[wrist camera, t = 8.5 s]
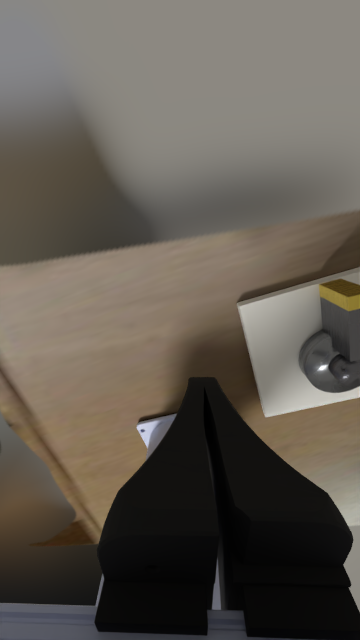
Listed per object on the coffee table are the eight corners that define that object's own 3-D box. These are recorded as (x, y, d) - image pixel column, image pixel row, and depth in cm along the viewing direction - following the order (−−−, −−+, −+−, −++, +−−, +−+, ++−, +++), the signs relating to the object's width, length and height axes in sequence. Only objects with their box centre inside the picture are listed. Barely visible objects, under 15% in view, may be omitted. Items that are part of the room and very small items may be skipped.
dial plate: (401, 379, 23) (411, 387, 22) (262, 410, 25) (265, 418, 24) (407, 252, 18) (421, 254, 17) (236, 302, 20) (239, 307, 19)
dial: (367, 374, 21) (402, 402, 18) (301, 388, 22) (323, 418, 19) (368, 270, 18) (412, 280, 14) (289, 291, 18) (313, 306, 15)
